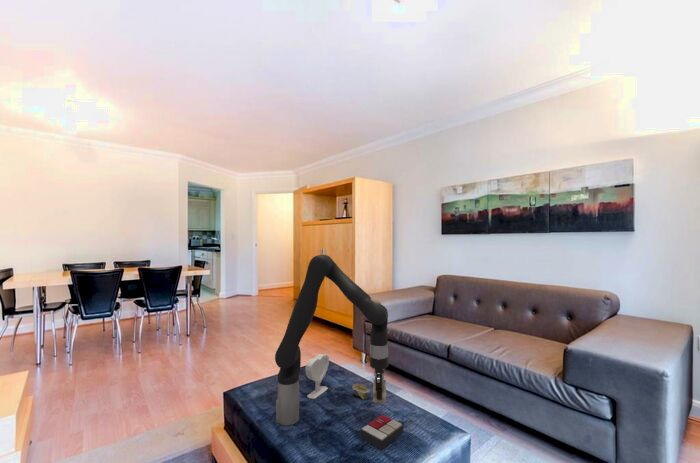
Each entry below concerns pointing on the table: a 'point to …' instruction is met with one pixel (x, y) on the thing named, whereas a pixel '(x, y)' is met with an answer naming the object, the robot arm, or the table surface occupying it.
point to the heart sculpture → (317, 373)
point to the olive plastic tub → (360, 391)
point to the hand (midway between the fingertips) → (379, 395)
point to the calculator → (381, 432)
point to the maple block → (382, 392)
